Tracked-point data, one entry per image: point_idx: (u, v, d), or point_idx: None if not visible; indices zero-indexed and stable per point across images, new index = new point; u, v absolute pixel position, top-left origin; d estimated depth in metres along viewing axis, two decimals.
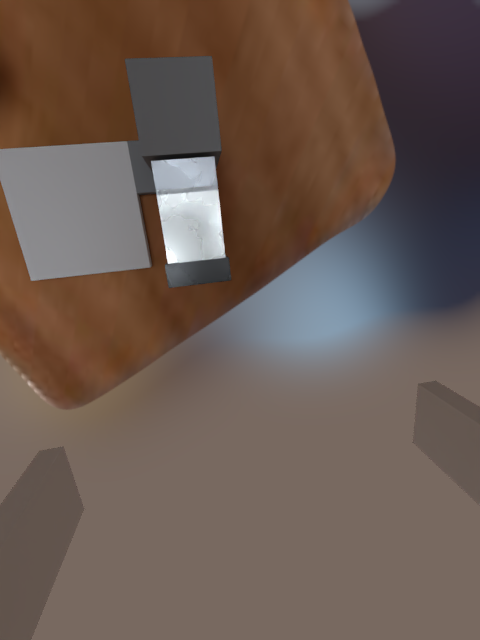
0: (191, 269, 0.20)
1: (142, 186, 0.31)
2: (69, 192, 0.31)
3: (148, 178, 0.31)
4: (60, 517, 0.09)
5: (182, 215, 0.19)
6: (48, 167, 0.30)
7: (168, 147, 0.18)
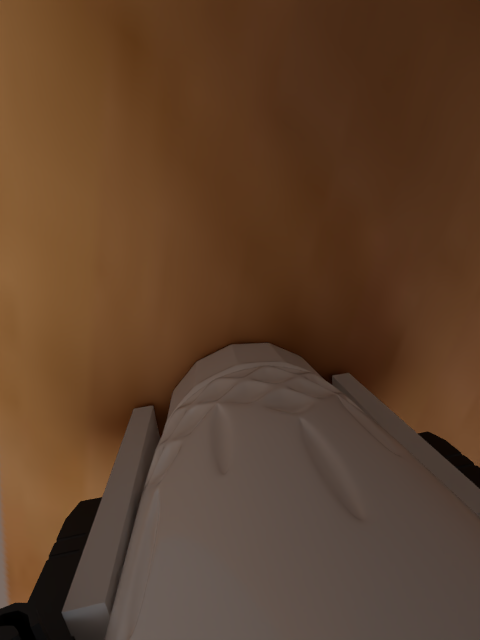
0: None
1: None
2: None
3: None
4: None
5: None
6: None
7: None
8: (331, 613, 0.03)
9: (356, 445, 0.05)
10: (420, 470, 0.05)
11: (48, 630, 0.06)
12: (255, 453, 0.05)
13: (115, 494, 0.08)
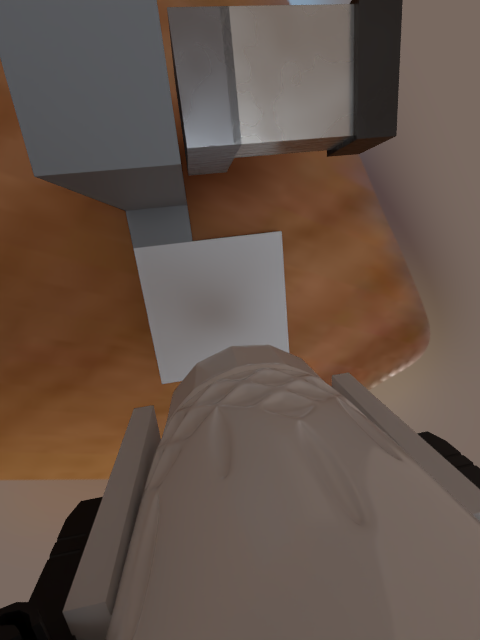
0: (371, 84, 0.11)
1: (183, 233, 0.25)
2: (197, 316, 0.27)
3: (173, 225, 0.25)
4: None
5: (275, 94, 0.10)
6: (173, 335, 0.27)
7: (161, 110, 0.10)
8: (331, 620, 0.03)
9: (357, 448, 0.05)
10: (420, 474, 0.05)
11: (49, 629, 0.06)
12: (255, 457, 0.05)
13: (115, 494, 0.08)
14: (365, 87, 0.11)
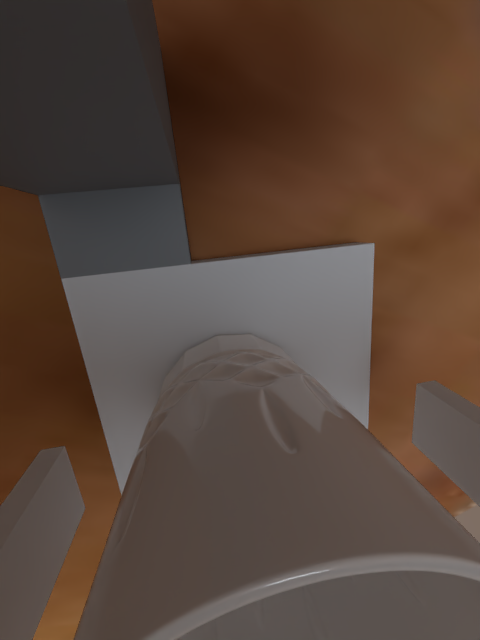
0: None
1: (171, 248, 0.12)
2: None
3: (150, 229, 0.11)
4: (61, 516, 0.09)
5: None
6: None
7: None
8: (256, 503, 0.04)
9: (305, 408, 0.07)
10: (356, 428, 0.07)
11: None
12: (222, 414, 0.06)
13: None
14: None
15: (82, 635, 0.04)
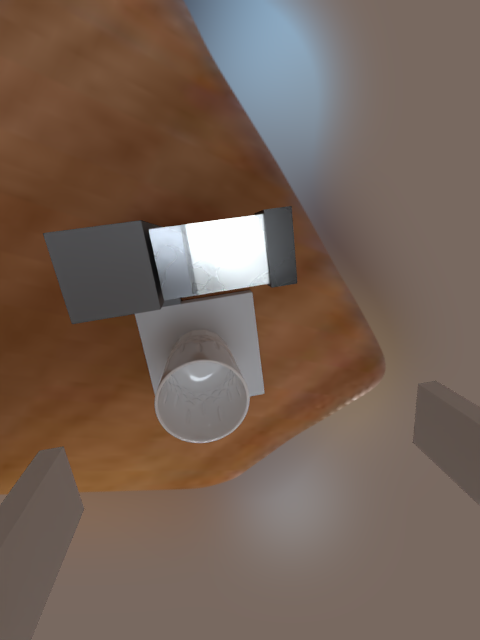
0: (277, 257, 0.17)
1: None
2: None
3: None
4: (60, 517, 0.09)
5: (217, 266, 0.17)
6: None
7: (147, 282, 0.17)
8: (190, 357, 0.24)
9: (208, 346, 0.26)
10: (220, 351, 0.26)
11: None
12: (187, 348, 0.26)
13: None
14: (273, 259, 0.17)
15: (161, 379, 0.24)
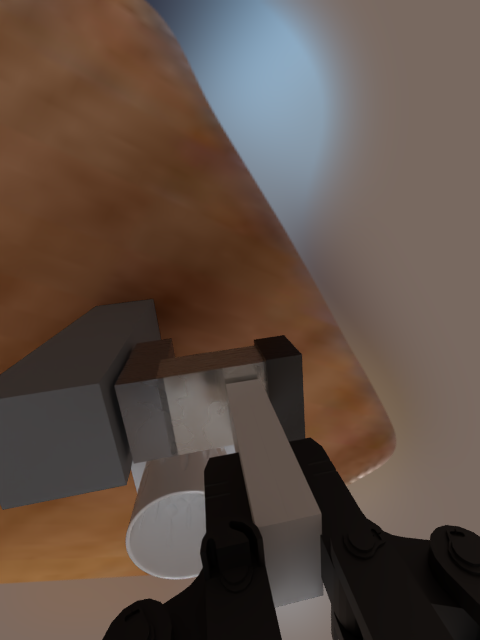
0: (281, 411, 0.13)
1: None
2: None
3: None
4: None
5: (203, 422, 0.13)
6: None
7: (108, 454, 0.12)
8: (171, 481, 0.20)
9: (195, 456, 0.22)
10: None
11: None
12: (170, 458, 0.22)
13: (250, 448, 0.09)
14: (276, 413, 0.13)
15: (135, 509, 0.20)
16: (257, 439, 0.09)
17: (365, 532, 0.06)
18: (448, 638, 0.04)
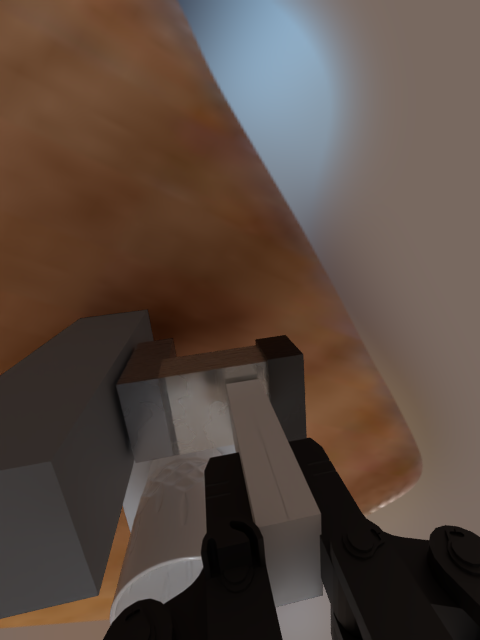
0: (282, 411, 0.13)
1: None
2: None
3: None
4: None
5: (205, 422, 0.13)
6: None
7: (70, 558, 0.08)
8: (167, 542, 0.16)
9: (197, 503, 0.18)
10: None
11: None
12: (167, 506, 0.18)
13: (250, 448, 0.09)
14: (278, 413, 0.13)
15: (122, 577, 0.16)
16: (257, 439, 0.09)
17: (364, 532, 0.06)
18: (447, 638, 0.04)
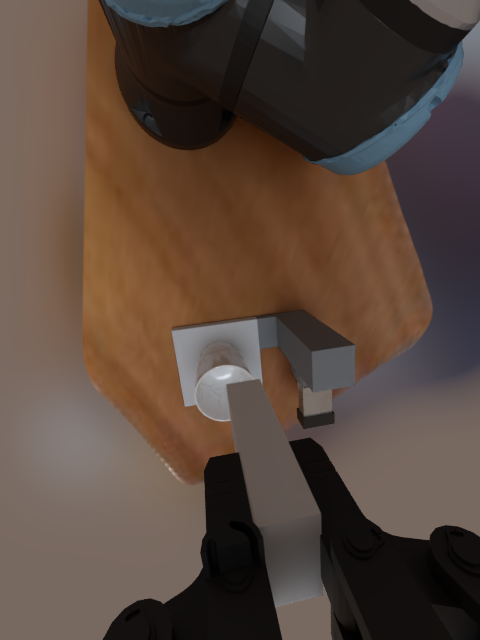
0: (315, 419, 0.39)
1: (263, 344, 0.46)
2: None
3: (268, 339, 0.46)
4: None
5: (313, 395, 0.39)
6: (205, 338, 0.44)
7: (327, 387, 0.33)
8: None
9: None
10: None
11: None
12: None
13: (250, 448, 0.09)
14: (314, 418, 0.39)
15: (242, 366, 0.36)
16: (257, 439, 0.09)
17: (364, 532, 0.06)
18: (447, 638, 0.04)
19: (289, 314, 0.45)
